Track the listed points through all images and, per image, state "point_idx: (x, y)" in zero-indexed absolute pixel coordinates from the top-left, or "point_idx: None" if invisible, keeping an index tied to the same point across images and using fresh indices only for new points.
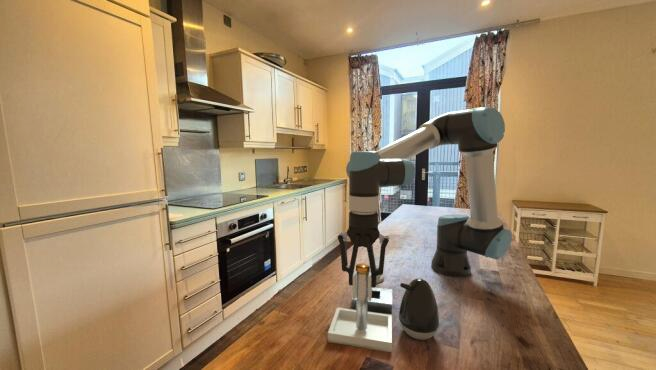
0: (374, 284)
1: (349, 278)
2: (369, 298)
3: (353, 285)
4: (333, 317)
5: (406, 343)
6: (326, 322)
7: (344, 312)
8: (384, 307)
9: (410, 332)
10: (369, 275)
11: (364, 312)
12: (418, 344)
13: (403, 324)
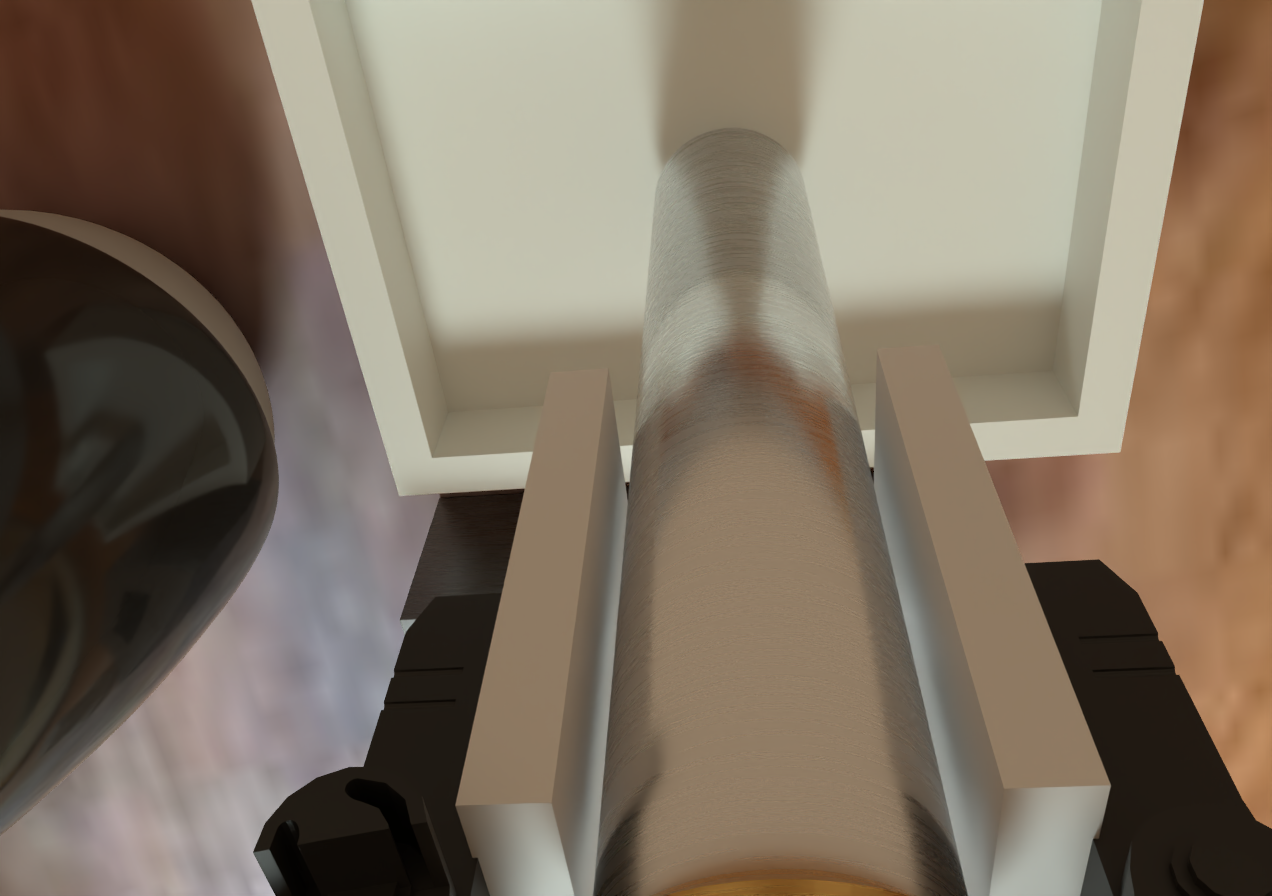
0: (430, 656)
1: (1166, 701)
2: (575, 396)
3: (988, 537)
4: (1161, 224)
5: (169, 139)
6: (1221, 217)
7: (1001, 403)
8: (502, 577)
9: (86, 230)
10: (544, 870)
11: (680, 252)
12: (45, 167)
13: (157, 295)
